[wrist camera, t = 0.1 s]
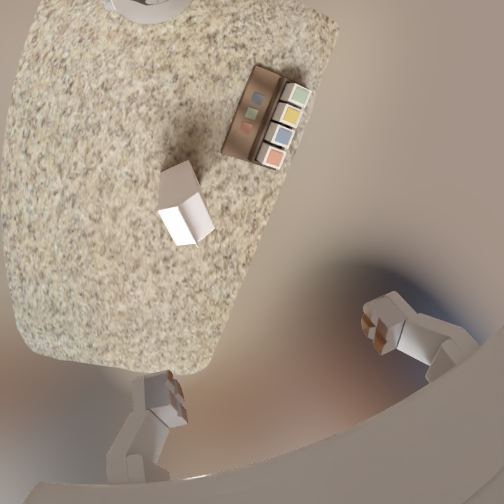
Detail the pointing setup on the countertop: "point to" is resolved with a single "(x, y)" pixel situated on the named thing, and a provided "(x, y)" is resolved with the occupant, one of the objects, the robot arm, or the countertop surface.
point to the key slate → (279, 135)
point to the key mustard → (287, 114)
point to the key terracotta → (271, 155)
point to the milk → (183, 205)
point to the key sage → (295, 95)
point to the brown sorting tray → (255, 115)
